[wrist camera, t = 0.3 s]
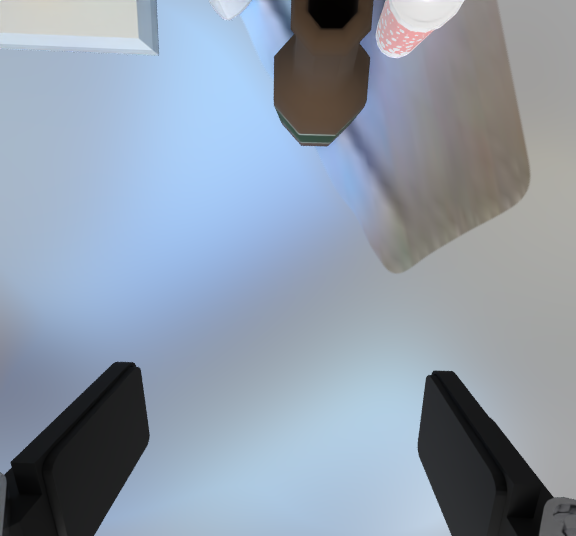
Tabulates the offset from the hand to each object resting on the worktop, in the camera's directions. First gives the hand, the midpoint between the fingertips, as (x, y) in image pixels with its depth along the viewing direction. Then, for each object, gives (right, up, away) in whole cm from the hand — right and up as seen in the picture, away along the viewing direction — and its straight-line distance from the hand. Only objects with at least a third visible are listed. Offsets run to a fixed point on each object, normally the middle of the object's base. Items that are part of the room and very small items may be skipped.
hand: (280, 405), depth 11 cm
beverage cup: (+12, +29, +23) cm, 39 cm away
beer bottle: (+3, +22, +26) cm, 34 cm away
